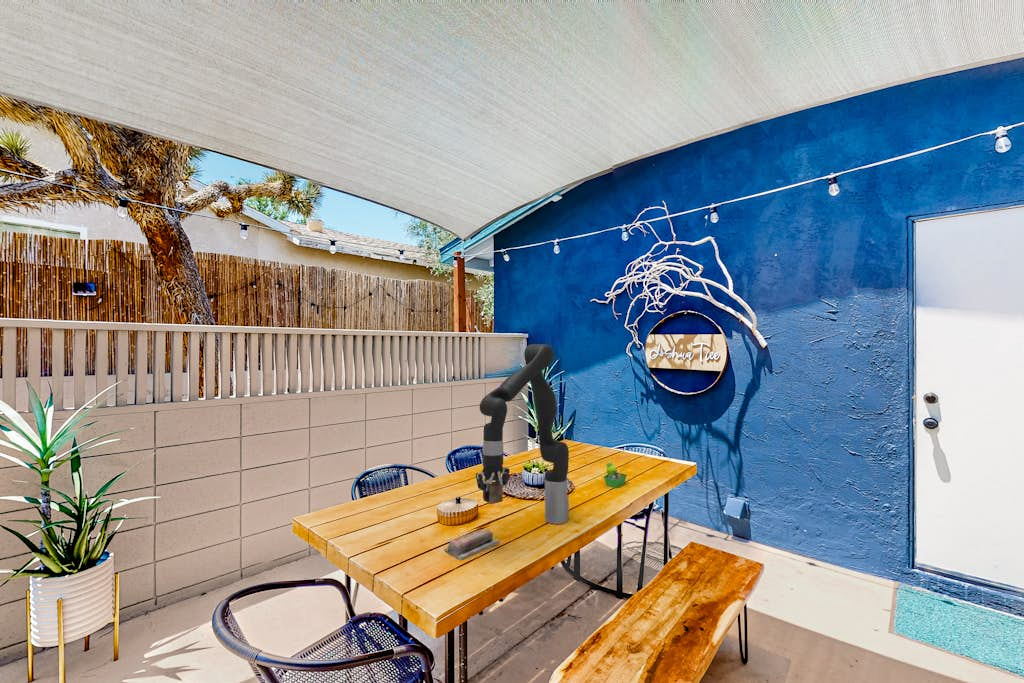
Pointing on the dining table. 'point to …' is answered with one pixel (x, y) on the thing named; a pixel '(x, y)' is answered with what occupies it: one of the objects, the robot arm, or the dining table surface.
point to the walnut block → (495, 493)
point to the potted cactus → (614, 477)
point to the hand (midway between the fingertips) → (492, 498)
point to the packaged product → (471, 544)
